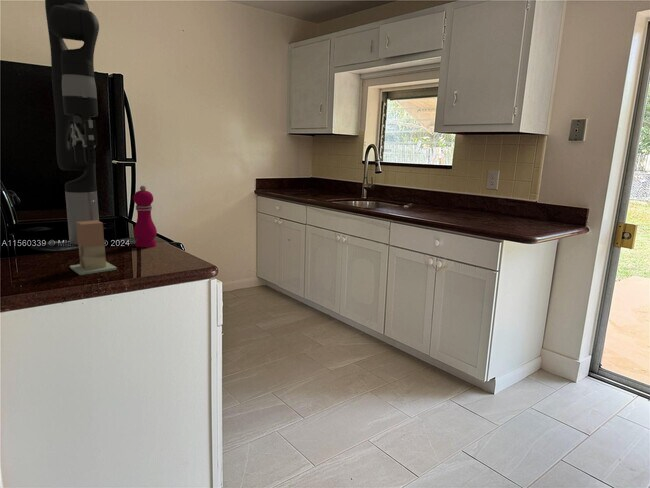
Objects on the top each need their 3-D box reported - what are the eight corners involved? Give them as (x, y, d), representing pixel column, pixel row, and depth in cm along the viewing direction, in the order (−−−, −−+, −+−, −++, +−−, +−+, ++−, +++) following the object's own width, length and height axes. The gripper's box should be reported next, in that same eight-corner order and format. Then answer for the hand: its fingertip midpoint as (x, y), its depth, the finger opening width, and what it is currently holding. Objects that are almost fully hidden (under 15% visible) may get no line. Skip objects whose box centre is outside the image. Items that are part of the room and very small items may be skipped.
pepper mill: (161, 244, 151) (158, 185, 147) (151, 248, 144) (148, 186, 140) (140, 243, 152) (137, 184, 148) (129, 247, 145) (126, 186, 141)
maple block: (80, 266, 120) (78, 244, 118) (100, 263, 123) (98, 242, 122) (85, 270, 116) (84, 247, 115) (106, 267, 119) (104, 245, 118)
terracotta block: (78, 244, 118) (76, 221, 117) (98, 242, 122) (96, 220, 120) (83, 247, 115) (81, 224, 113) (104, 245, 118) (102, 222, 117)
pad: (69, 267, 120) (69, 265, 120) (105, 262, 126) (105, 260, 126) (79, 275, 113) (79, 273, 113) (116, 269, 119) (116, 267, 119)
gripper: (55, 96, 113) (61, 161, 116) (71, 92, 103) (77, 163, 106) (87, 99, 118) (92, 161, 121) (105, 95, 108) (110, 163, 111)
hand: (85, 162), depth 114 cm, fingers open, 8 cm apart
